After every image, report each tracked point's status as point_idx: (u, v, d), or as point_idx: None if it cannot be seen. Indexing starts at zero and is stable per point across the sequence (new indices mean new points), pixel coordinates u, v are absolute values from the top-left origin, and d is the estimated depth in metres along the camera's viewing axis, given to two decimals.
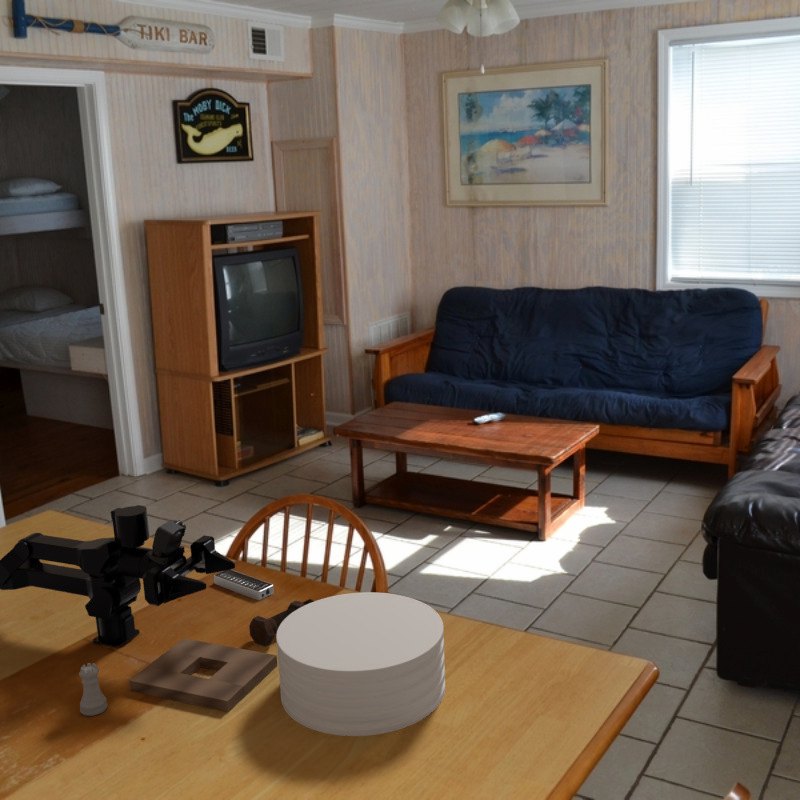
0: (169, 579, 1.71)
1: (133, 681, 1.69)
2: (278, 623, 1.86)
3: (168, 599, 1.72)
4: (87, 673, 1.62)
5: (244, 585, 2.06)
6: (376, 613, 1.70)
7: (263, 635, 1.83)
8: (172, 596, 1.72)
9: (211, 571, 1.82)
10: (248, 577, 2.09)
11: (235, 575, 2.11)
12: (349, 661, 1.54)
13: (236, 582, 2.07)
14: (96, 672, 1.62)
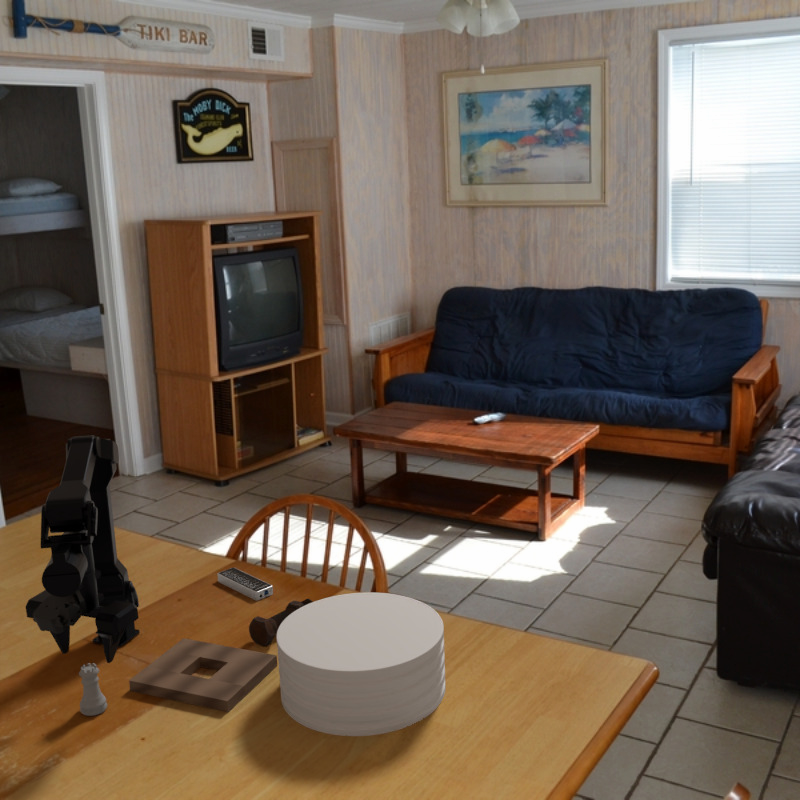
0: None
1: (133, 681, 1.69)
2: (278, 623, 1.86)
3: None
4: (87, 673, 1.62)
5: (244, 585, 2.06)
6: (376, 613, 1.70)
7: (264, 636, 1.83)
8: None
9: None
10: (250, 577, 2.10)
11: (238, 574, 2.11)
12: (350, 661, 1.54)
13: (237, 581, 2.08)
14: (96, 672, 1.62)
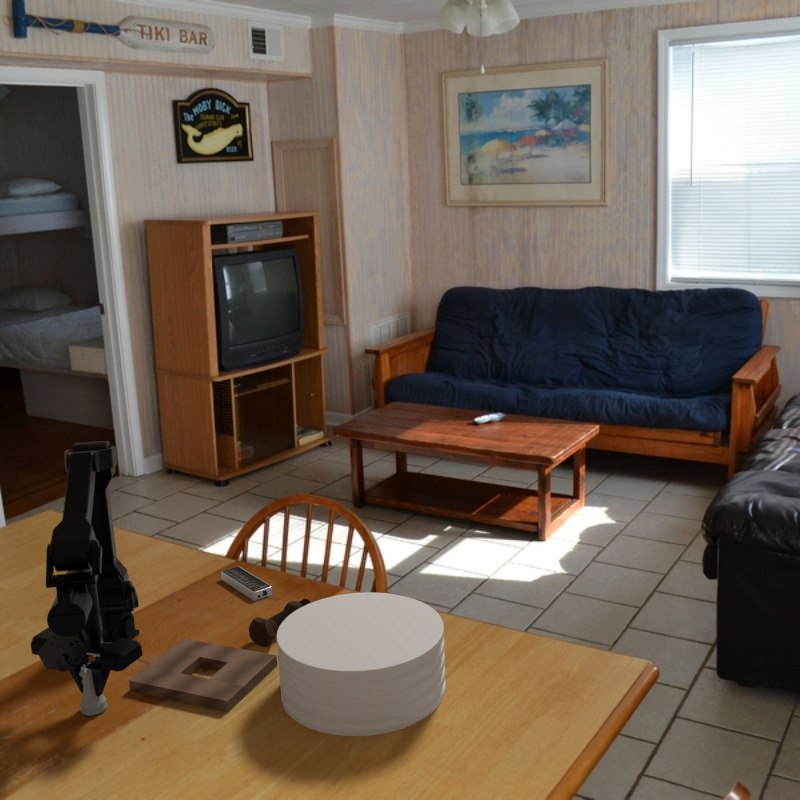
0: None
1: (133, 681, 1.69)
2: (277, 623, 1.86)
3: None
4: (87, 673, 1.62)
5: (244, 584, 2.06)
6: (376, 613, 1.70)
7: (264, 637, 1.83)
8: None
9: None
10: (251, 576, 2.10)
11: (241, 573, 2.12)
12: (350, 661, 1.54)
13: (238, 580, 2.08)
14: None
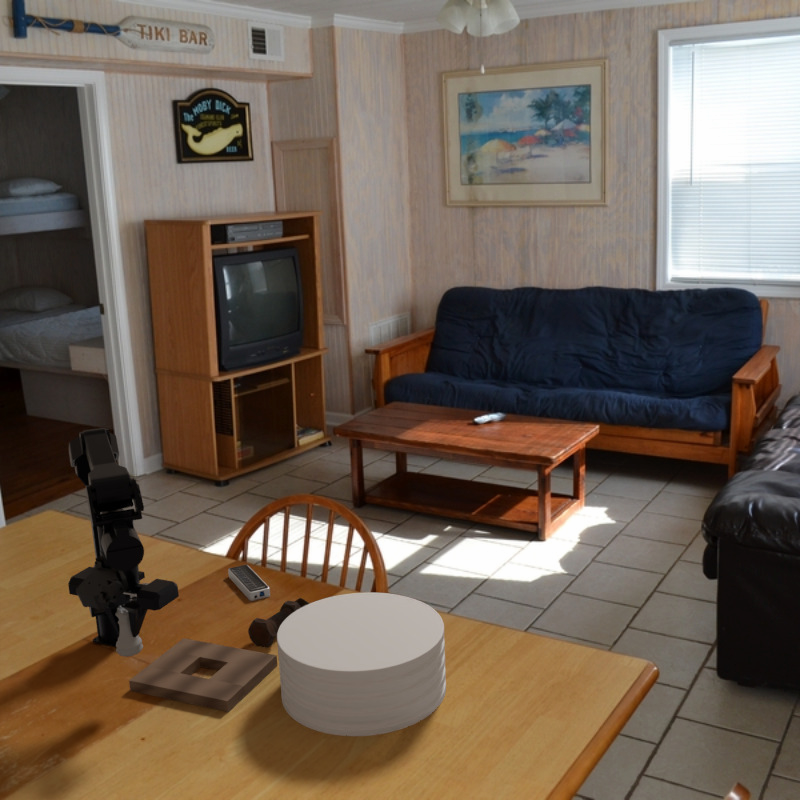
0: None
1: (133, 681, 1.69)
2: (277, 623, 1.86)
3: None
4: (124, 613, 1.62)
5: (244, 583, 2.06)
6: (376, 613, 1.70)
7: (265, 637, 1.82)
8: None
9: None
10: (255, 576, 2.10)
11: (246, 572, 2.12)
12: (350, 661, 1.54)
13: (240, 579, 2.09)
14: None
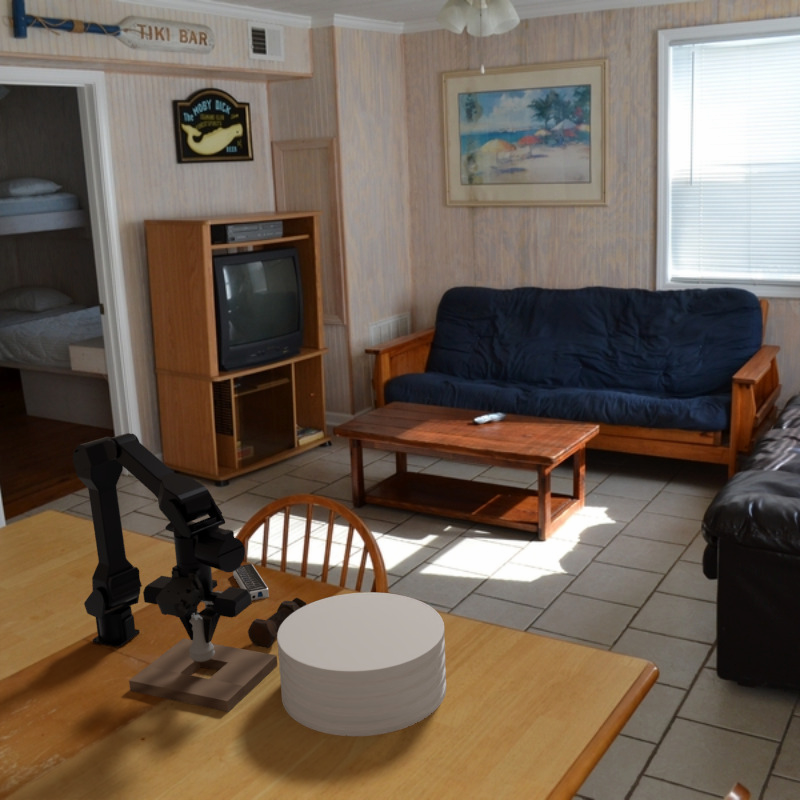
0: None
1: (133, 681, 1.69)
2: (276, 624, 1.86)
3: None
4: (198, 620, 1.69)
5: (244, 583, 2.07)
6: (377, 613, 1.70)
7: (266, 637, 1.82)
8: None
9: None
10: (256, 576, 2.10)
11: (249, 571, 2.12)
12: (350, 661, 1.54)
13: (241, 578, 2.09)
14: None
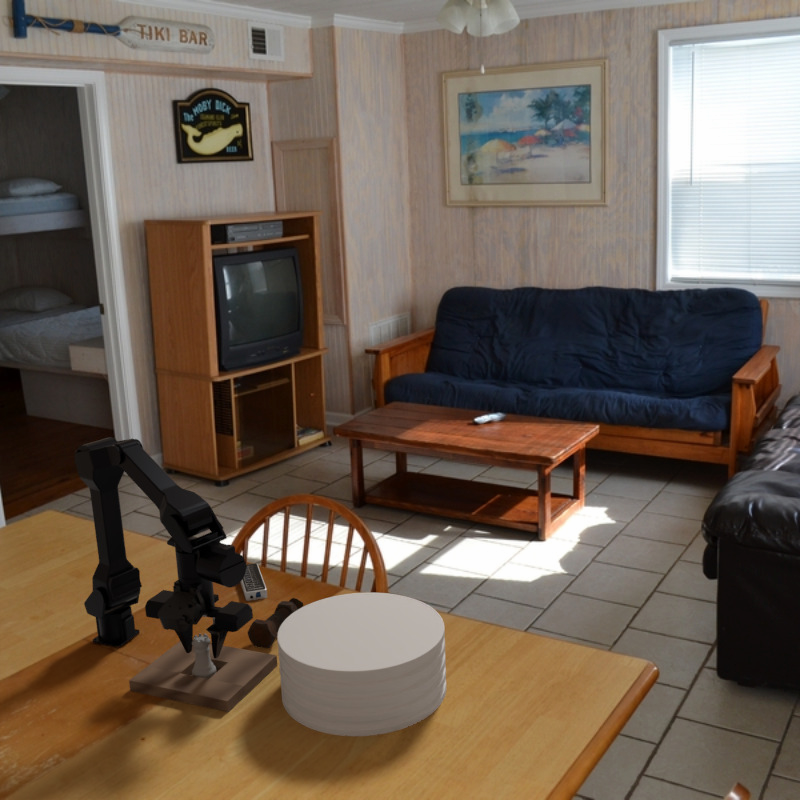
0: None
1: (133, 681, 1.69)
2: (276, 624, 1.86)
3: None
4: (200, 642, 1.70)
5: (245, 582, 2.07)
6: (377, 613, 1.70)
7: (266, 638, 1.82)
8: None
9: None
10: (258, 576, 2.10)
11: (252, 571, 2.13)
12: (351, 661, 1.54)
13: (243, 578, 2.09)
14: (208, 642, 1.71)
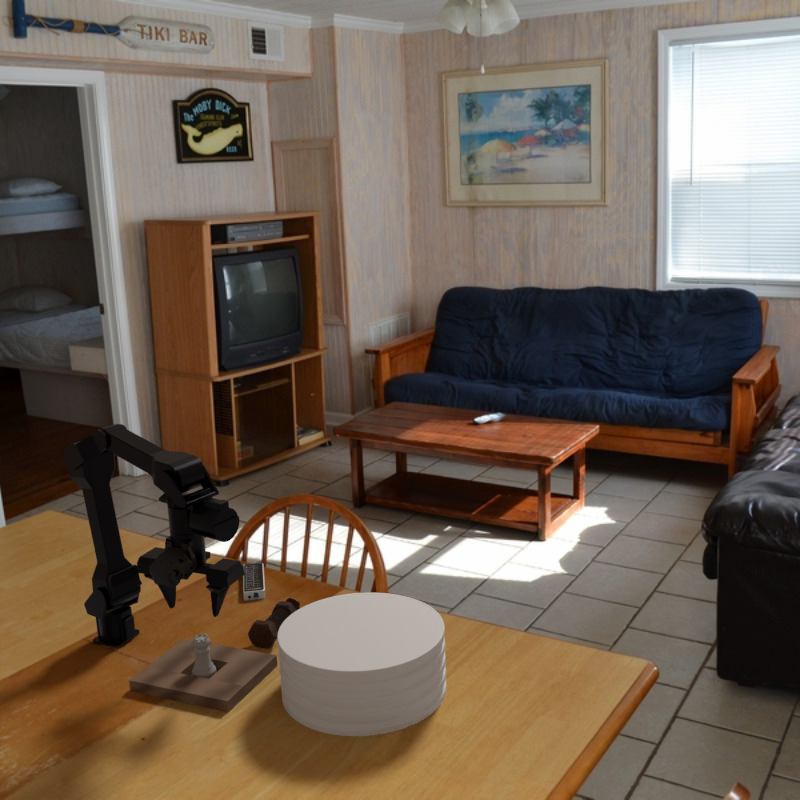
0: None
1: (133, 681, 1.69)
2: (276, 624, 1.86)
3: None
4: (200, 642, 1.70)
5: (245, 582, 2.07)
6: (377, 613, 1.70)
7: (267, 638, 1.82)
8: None
9: None
10: (260, 576, 2.10)
11: (256, 570, 2.13)
12: (351, 661, 1.54)
13: (245, 577, 2.10)
14: (208, 642, 1.71)
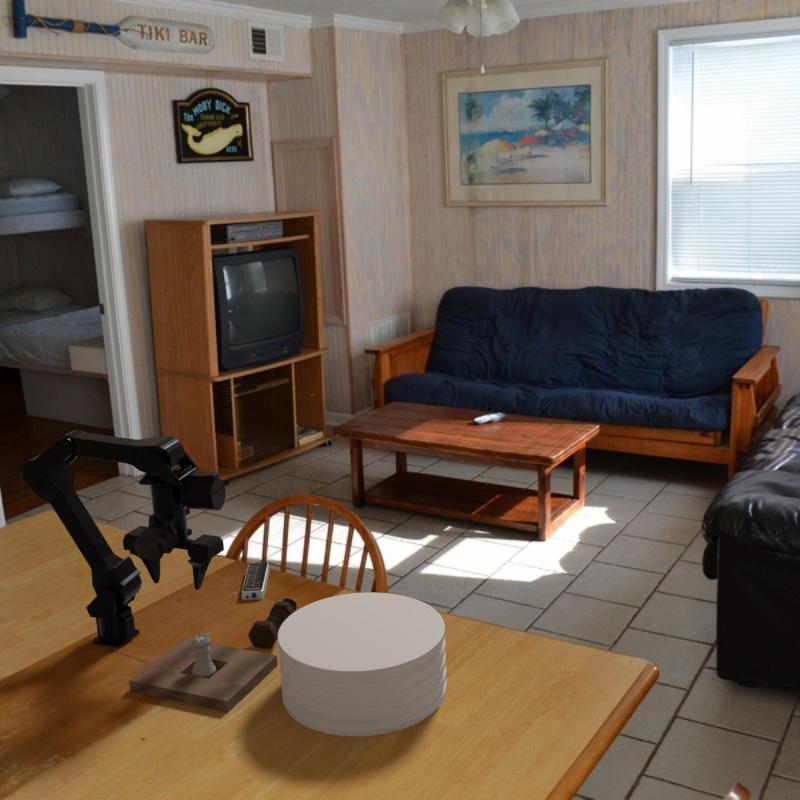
0: None
1: (133, 681, 1.69)
2: (276, 624, 1.86)
3: None
4: (200, 642, 1.70)
5: (246, 581, 2.07)
6: (377, 613, 1.70)
7: (268, 638, 1.82)
8: None
9: None
10: (262, 576, 2.10)
11: (259, 570, 2.13)
12: (351, 661, 1.54)
13: (247, 576, 2.10)
14: (208, 641, 1.71)
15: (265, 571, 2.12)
